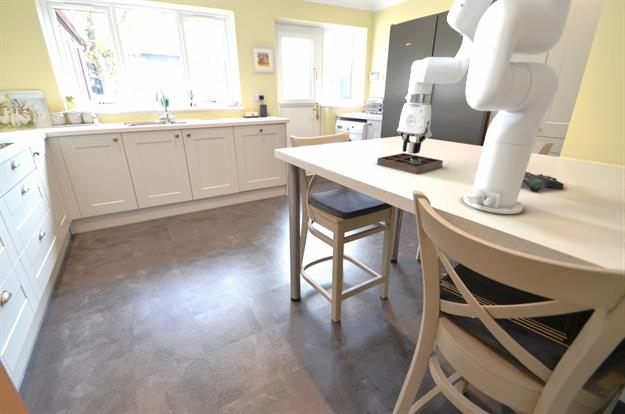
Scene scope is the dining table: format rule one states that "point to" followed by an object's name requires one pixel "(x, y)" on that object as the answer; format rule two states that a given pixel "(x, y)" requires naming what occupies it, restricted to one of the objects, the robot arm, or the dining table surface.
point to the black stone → (415, 161)
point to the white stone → (410, 147)
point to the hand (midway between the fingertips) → (410, 151)
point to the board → (403, 163)
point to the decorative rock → (540, 181)
